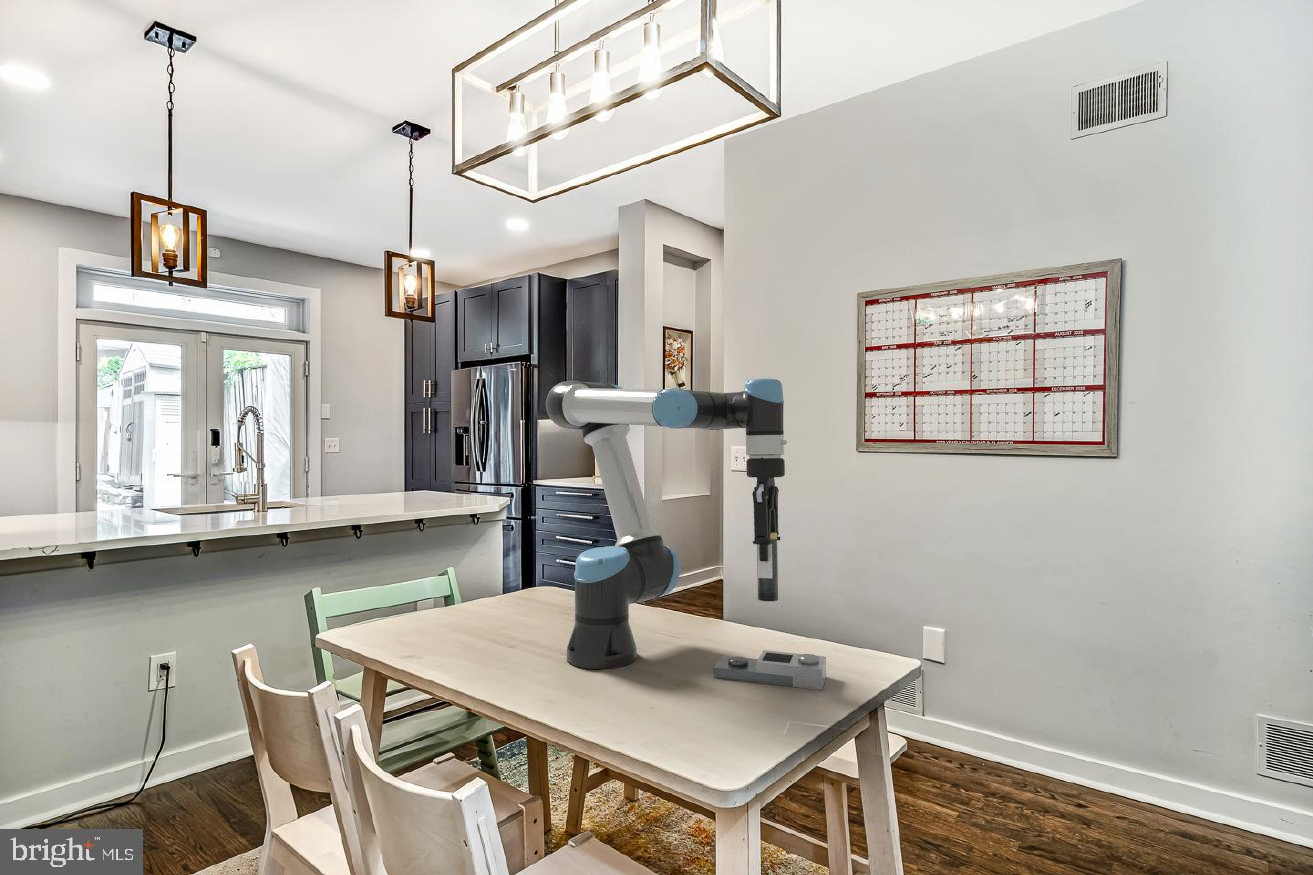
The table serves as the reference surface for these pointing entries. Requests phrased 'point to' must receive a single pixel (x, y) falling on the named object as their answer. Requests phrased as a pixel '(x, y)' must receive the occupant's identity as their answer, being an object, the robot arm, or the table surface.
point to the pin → (769, 585)
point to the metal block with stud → (775, 669)
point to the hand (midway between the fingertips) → (767, 575)
